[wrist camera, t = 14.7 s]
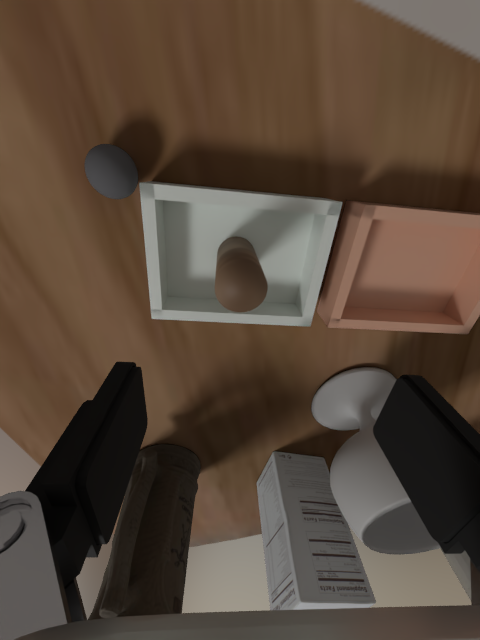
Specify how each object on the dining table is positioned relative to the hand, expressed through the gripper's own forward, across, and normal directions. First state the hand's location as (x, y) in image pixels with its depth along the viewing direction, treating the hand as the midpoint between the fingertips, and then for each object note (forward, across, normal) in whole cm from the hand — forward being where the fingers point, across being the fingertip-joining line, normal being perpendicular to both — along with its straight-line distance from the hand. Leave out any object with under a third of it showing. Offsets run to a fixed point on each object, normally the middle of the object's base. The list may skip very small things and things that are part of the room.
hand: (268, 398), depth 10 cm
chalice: (+19, -17, +18) cm, 31 cm away
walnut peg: (+17, +1, -1) cm, 17 cm away
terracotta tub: (+18, -16, -1) cm, 24 cm away
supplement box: (+19, -11, +35) cm, 42 cm away
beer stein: (+19, +10, +31) cm, 38 cm away
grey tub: (+18, +1, -1) cm, 18 cm away
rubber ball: (+16, +11, -7) cm, 20 cm away
